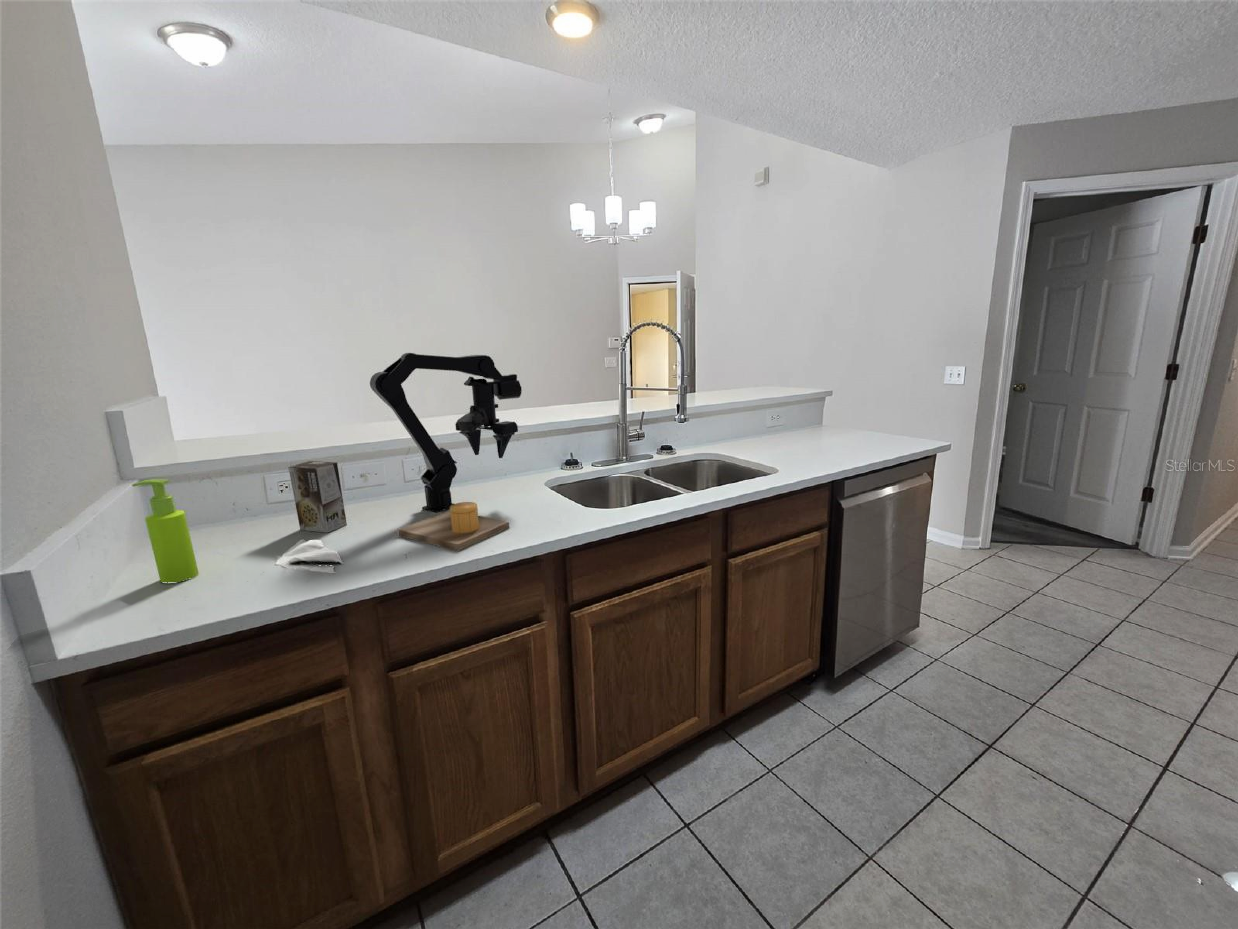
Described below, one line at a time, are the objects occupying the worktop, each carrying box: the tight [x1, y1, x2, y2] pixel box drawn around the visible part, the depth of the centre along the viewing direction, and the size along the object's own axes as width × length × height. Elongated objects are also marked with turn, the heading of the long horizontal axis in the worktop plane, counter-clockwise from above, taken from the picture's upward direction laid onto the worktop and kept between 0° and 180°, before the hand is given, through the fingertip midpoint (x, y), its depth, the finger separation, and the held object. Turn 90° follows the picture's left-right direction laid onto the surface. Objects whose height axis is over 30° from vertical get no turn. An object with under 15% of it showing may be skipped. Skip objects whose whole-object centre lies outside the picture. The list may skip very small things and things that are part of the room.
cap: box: [449, 501, 479, 533], centre depth 124 cm, size 6×6×6 cm
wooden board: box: [397, 509, 510, 552], centre depth 127 cm, size 20×16×2 cm
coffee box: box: [288, 460, 348, 533], centre depth 131 cm, size 9×6×16 cm
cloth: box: [274, 538, 344, 574], centre depth 115 cm, size 26×14×2 cm, turn 31°
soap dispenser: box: [131, 478, 199, 583], centre depth 103 cm, size 6×7×20 cm
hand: (488, 456), depth 151 cm, fingers open, 9 cm apart
